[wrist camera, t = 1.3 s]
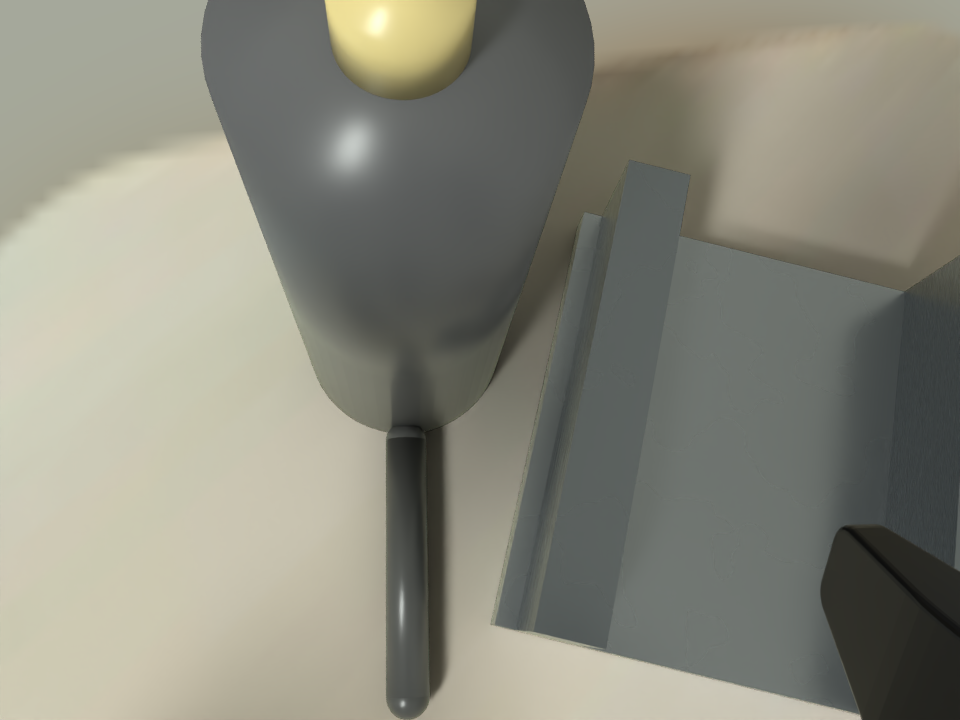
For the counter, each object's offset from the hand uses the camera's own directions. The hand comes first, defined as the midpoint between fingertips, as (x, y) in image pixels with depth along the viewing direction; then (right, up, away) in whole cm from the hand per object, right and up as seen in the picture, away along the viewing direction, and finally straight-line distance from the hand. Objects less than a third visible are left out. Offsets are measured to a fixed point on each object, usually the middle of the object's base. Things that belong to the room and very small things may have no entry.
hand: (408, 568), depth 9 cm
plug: (-1, -1, +13) cm, 13 cm away
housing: (+8, -1, +14) cm, 16 cm away
